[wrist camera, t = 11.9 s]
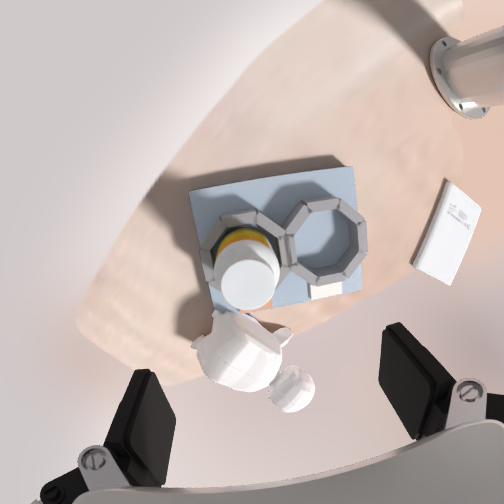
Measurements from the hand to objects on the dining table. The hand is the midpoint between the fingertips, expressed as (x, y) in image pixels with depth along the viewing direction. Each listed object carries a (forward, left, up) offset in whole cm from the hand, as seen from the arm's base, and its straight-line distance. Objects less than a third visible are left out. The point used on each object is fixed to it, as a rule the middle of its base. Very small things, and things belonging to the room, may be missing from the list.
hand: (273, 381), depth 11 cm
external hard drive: (-27, +4, -23) cm, 36 cm away
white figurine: (+1, +13, -23) cm, 26 cm away
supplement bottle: (+1, 0, -20) cm, 20 cm away
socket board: (-4, 0, -22) cm, 23 cm away
